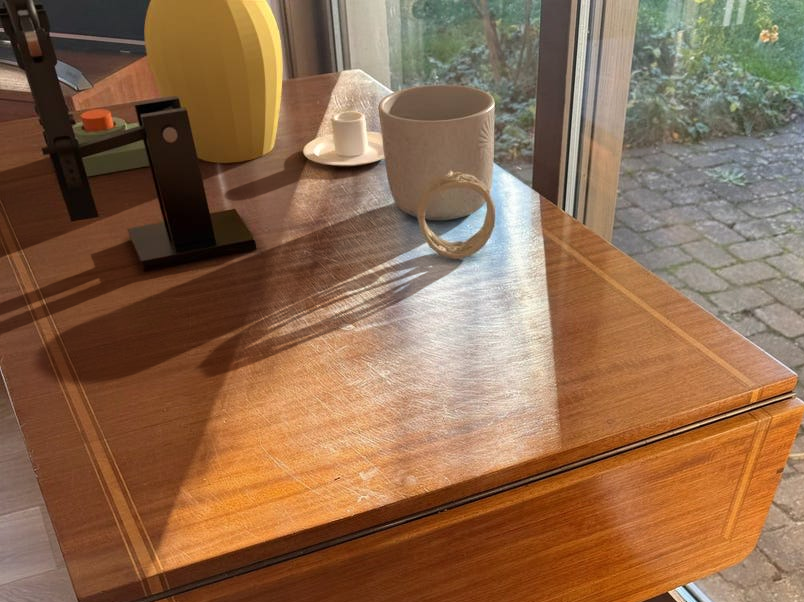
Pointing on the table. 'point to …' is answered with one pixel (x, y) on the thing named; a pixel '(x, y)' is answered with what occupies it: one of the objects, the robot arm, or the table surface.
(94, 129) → the button
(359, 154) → the candle holder
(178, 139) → the bracket
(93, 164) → the control block
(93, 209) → the robot arm
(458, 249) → the bracelet
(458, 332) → the table surface
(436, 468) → the table surface
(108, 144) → the lever
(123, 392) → the table surface
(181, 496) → the table surface
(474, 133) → the planter
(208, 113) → the vase
